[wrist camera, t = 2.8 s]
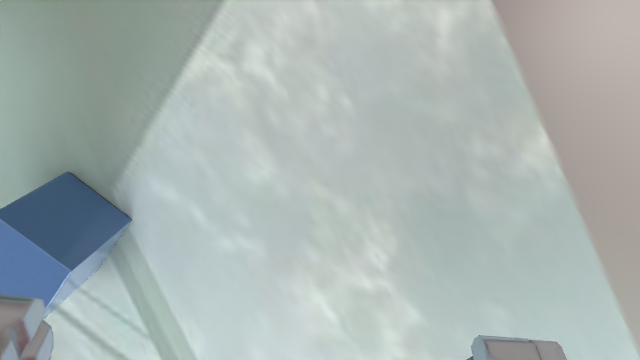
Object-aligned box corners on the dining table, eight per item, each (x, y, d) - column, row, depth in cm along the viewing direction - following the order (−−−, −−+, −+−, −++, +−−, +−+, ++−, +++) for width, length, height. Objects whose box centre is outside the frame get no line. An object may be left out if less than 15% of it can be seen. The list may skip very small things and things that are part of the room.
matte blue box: (68, 170, 42) (-8, 213, 34) (132, 219, 42) (71, 271, 35) (35, 224, 44) (-43, 275, 36) (97, 270, 44) (32, 329, 37)
